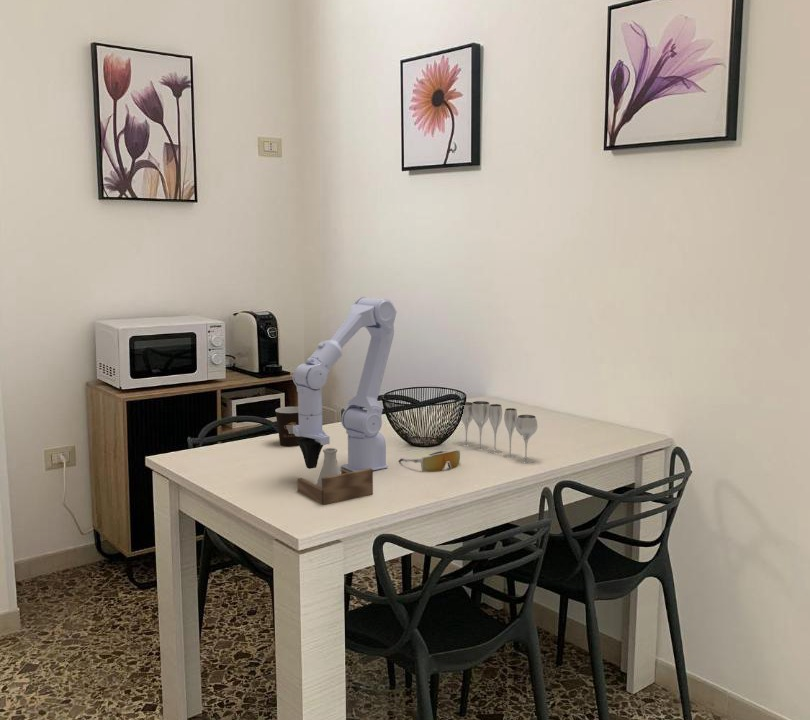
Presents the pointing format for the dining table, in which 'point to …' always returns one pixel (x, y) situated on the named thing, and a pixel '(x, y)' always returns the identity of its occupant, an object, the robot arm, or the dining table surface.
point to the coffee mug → (287, 425)
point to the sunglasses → (437, 460)
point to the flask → (329, 465)
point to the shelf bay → (339, 486)
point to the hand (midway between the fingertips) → (311, 467)
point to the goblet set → (484, 410)
